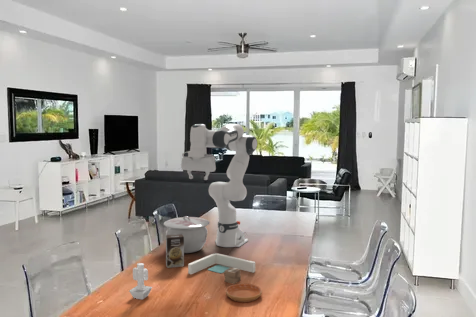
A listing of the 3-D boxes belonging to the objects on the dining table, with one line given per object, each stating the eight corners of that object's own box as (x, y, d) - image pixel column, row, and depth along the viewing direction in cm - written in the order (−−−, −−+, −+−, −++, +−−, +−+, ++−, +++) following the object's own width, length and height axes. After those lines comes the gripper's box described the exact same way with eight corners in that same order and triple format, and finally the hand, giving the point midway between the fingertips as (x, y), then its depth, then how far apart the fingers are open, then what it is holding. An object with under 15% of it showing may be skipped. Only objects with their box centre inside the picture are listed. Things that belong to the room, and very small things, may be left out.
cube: (231, 278, 204) (231, 266, 204) (240, 280, 201) (240, 269, 201) (224, 281, 200) (224, 270, 199) (233, 284, 197) (233, 272, 196)
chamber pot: (202, 258, 233) (202, 222, 231) (156, 255, 238) (155, 220, 237) (215, 244, 260) (215, 211, 258) (173, 241, 266) (173, 209, 264)
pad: (217, 265, 223) (217, 264, 223) (231, 268, 218) (231, 267, 218) (207, 269, 215) (207, 269, 215) (221, 273, 210) (221, 273, 210)
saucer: (241, 286, 195) (241, 280, 195) (269, 295, 185) (269, 288, 185) (218, 297, 183) (218, 290, 182) (246, 307, 172) (246, 300, 172)
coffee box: (167, 268, 218) (166, 238, 217) (165, 264, 224) (165, 234, 223) (184, 266, 221) (184, 236, 219) (182, 262, 227) (182, 233, 225)
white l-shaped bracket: (215, 261, 228) (215, 252, 228) (255, 271, 213) (255, 262, 213) (188, 273, 210) (188, 263, 210) (229, 285, 195) (229, 274, 195)
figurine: (153, 293, 186) (153, 261, 184) (142, 302, 177) (141, 268, 175) (139, 291, 188) (139, 259, 187) (127, 300, 179) (126, 266, 178)
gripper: (217, 154, 224) (217, 179, 225) (186, 152, 233) (186, 177, 235) (211, 155, 219) (211, 181, 220) (179, 153, 228) (179, 178, 229)
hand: (198, 179), depth 227 cm, fingers open, 8 cm apart
